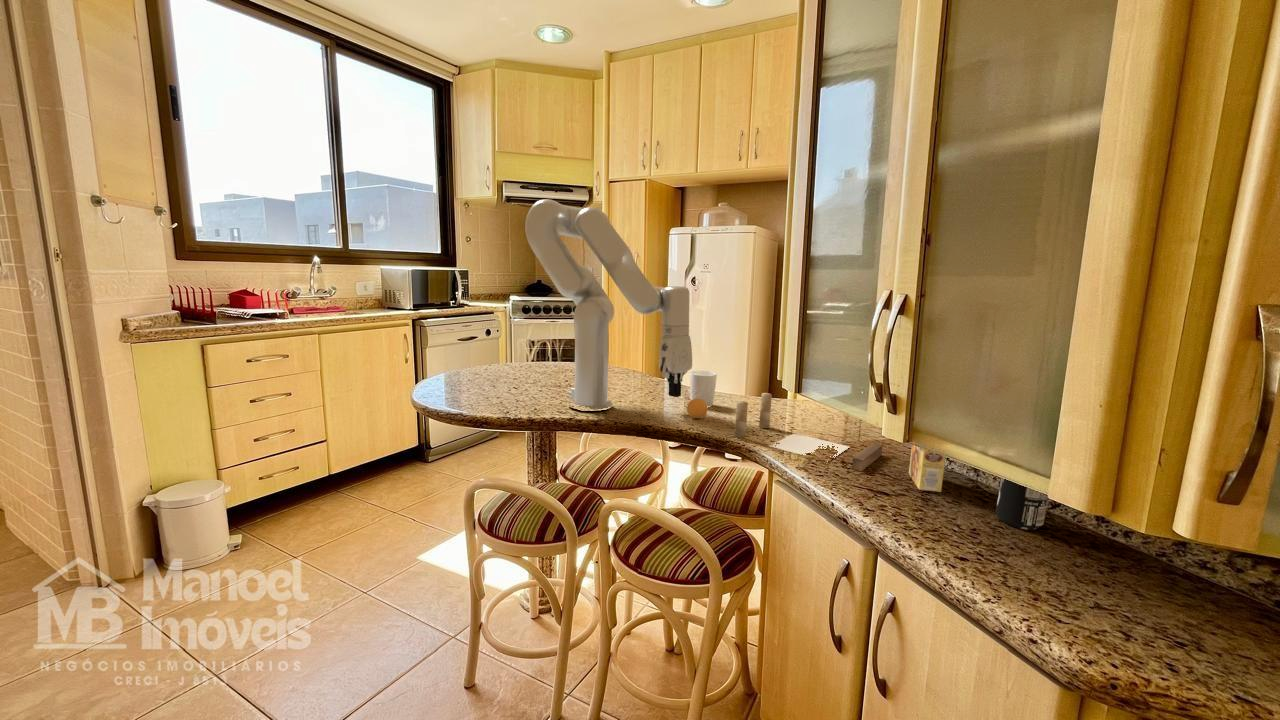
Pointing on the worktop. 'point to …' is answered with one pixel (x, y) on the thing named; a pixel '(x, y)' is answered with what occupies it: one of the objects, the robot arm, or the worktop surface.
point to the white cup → (703, 386)
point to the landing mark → (806, 445)
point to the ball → (697, 408)
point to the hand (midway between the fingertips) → (674, 395)
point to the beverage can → (1020, 506)
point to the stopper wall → (867, 456)
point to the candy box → (926, 469)
